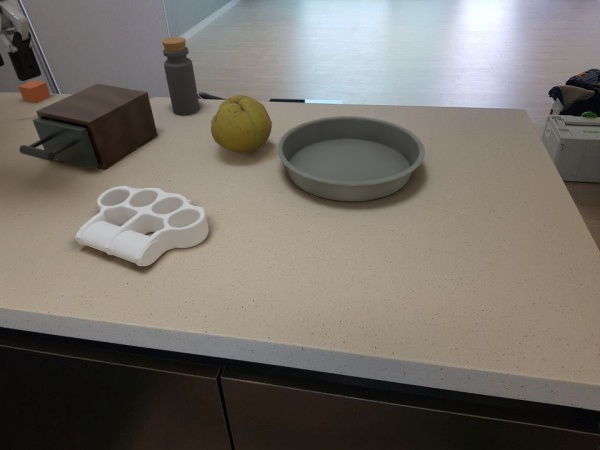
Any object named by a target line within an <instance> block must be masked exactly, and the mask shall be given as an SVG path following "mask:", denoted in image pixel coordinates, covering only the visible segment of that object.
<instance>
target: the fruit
mask: <svg viewBox="0 0 600 450" xmlns="http://www.w3.org/2000/svg"><path fill="white" fill-rule="evenodd" d="M272 123H273V121H272V119H271V117H270V115H269V113H268V110H267V109H266V107H265V105H264V104H263V103H261V102H260V101H258V100H257V99H255V98H253V97H251V96H248V95H244V94H237V95H233V96H229V97H228V98H226V99H225V100H224V101H222V102H221V104H220V105H219V107H218V109H217V111H216V113H215V114H214V116H213V117H212V119H211V124H210V133H211V137H212V139H213V140H214V142H215V143H216V144H217V145H218V146H220V147H221V148H222V149H225V150H227V151H229V152H234V153H238V154H248V153H253V152H255V151H257V150H259V149H260V148H262V147H263V146H264V145H265V144H266V142H267V141H268V140H269V138H270V137H271V133H272V127H273V124H272Z"/></svg>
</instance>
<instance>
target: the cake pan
mask: <svg viewBox="0 0 600 450" xmlns="http://www.w3.org/2000/svg"><path fill="white" fill-rule="evenodd" d="M276 151H277V155H278V157H279V159H280V161H281V162H282V164H283V166H285V167H286V170H287V173H288V174H287V175H288V176H289V178H290V180H291V182H293V183H294V184H295V185H296V186H297V187H298V188H300V189H301V190H303V191H304V192H307V193H308V194H311V195H313V196H315V197H319V198H322V199H326V200H331V201H337V202H366V201H373V200H377V199H381V198H384V197H388V196H390V195H392V194H395V193H396V192H398V191H399V190H401V189H402V188H403V187H404V186H406V184H407V183H408V182H409V180H410V179H411V176H412V174H413V172H414V171H416V170H417V169H418V167H420V166H421V164H422V162H423V161H424V159H425V155H426V150H425V145H424V144H423V142H422V140H421V139H420V138H419V137H418V136H417V135H416V134H415V133H413V132H412V131H411V130H408V129H407V128H405V127H403V126H401V125H399V124H396V123H393V122H391V121H387V120H383V119H378V118H373V117H366V116H355V115H340V116H327V117H322V118H316V119H312V120H309V121H306V122H303V123H301V124H298V125H296V126H294V127H292V128H291V129H289V130H288V131H286V133H284V134H283V135H282V136H281V137H280V139H279V140H278V143H277V148H276Z"/></svg>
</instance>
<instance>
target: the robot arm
mask: <svg viewBox="0 0 600 450" xmlns="http://www.w3.org/2000/svg"><path fill="white" fill-rule="evenodd" d="M29 25H30V24H29V20H28V17H27V16H25V15H24V14H23V13H22V12H21V11H20V9H19V5H18V2H17V1H16V0H0V39H1V40H2V42H3V43H4V44H5V46H6V48H8V49H9V51H7V54H8V57H9V59H10V62H11V64H12V66H13V69H14V72H15V74H16V77H17V79H18V81H21V82H27V81H30V80H33V79H36V78H38V77H41V76H42V71H41V68H40V65H39V62H38V60H37V58H36V55H35V52H34V49H33V47H34V44H33V42H32V34H31V31H30V26H29ZM10 36H12V38H11V37H10ZM3 66H5V61H4V59H3V57H2V54H1V53H0V68H1V67H3Z"/></svg>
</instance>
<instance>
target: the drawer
mask: <svg viewBox="0 0 600 450" xmlns="http://www.w3.org/2000/svg"><path fill="white" fill-rule="evenodd" d="M48 119H49V120H46V119H41V118H39V117H36V118H34V119H32V123H33V125H34V128H35V131H36V132H37V135H38V138H39V140H37V141H35V142H33V143H31V144H29V145H25V144H22V145H20V146H19V153H20V154H22V155H25V156H29V157H33V158H37V159H41V160H45V161H48V162H53V161H55V160H56V161H59V162H63V163H68V164H72V165H76V166H78V167H79V166H80V167H84V168H88V169H91V170H95V169H98V168H97V167H99V165H98V162H97V160H99V158H98V155H97V152H96V149H95V146H94V143H93V140H92V137H91V134H90V131H89V128H88V126H86V125H81V124H77V123H72V122H67V121H63V120H58V119H53V118H48ZM40 146H42V148H43V149H42V148H38V147H40Z"/></svg>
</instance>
